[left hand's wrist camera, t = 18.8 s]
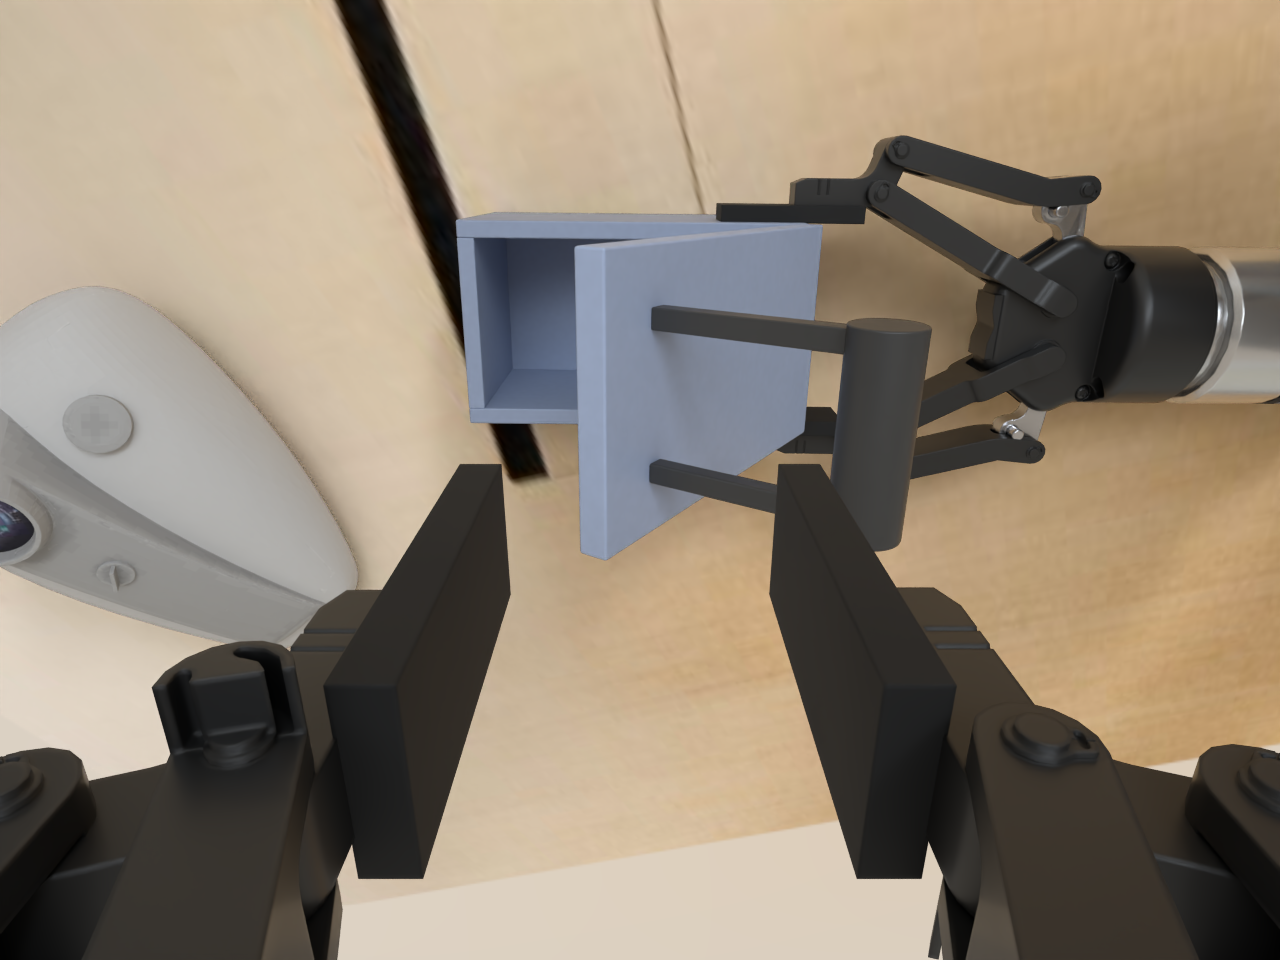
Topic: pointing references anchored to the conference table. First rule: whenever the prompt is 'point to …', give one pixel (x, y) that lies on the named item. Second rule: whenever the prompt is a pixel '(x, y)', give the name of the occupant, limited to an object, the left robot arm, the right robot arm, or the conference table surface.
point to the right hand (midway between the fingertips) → (713, 321)
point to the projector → (154, 478)
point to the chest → (539, 303)
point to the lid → (729, 382)
